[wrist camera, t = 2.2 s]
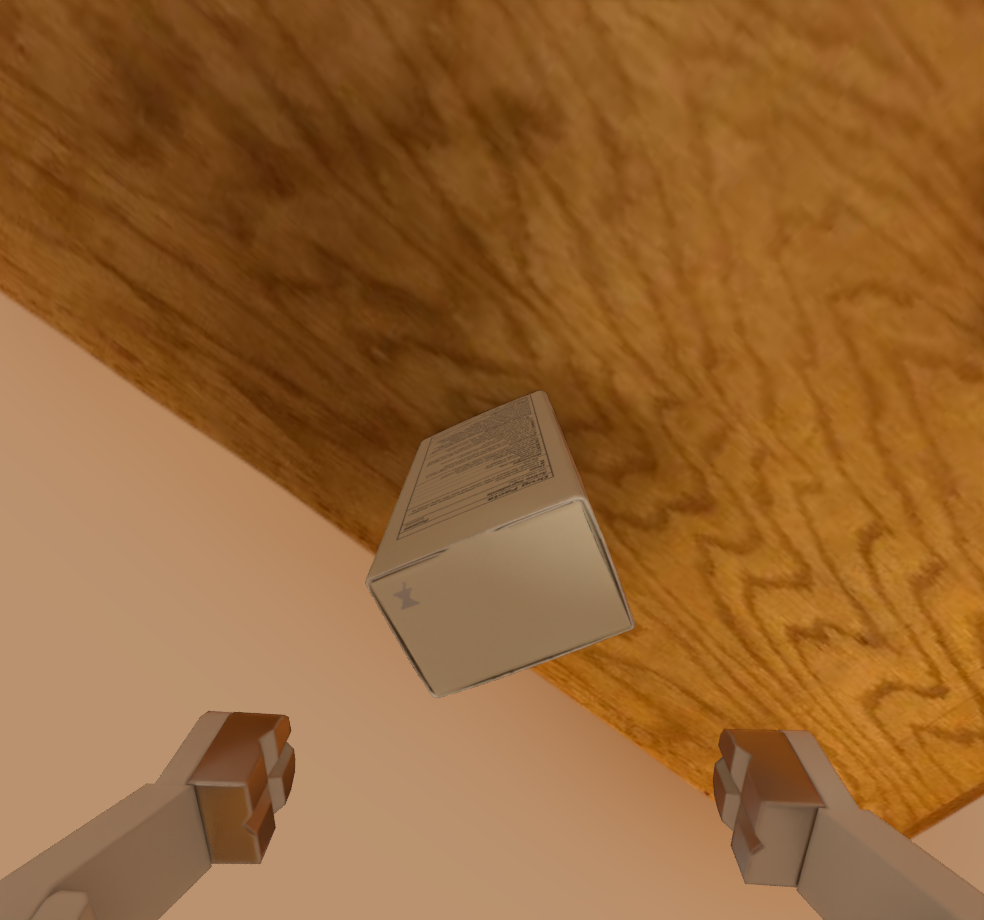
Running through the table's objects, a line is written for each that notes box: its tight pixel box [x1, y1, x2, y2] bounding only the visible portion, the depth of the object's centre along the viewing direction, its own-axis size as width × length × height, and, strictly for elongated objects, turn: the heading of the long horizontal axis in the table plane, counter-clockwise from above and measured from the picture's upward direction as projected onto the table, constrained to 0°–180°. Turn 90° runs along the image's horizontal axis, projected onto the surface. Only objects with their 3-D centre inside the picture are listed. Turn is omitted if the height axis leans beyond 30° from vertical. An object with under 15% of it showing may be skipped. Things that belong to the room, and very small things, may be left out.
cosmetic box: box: [365, 390, 635, 698], centre depth 21 cm, size 6×4×12 cm
